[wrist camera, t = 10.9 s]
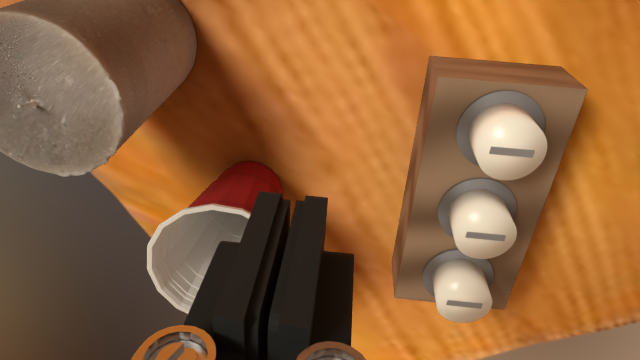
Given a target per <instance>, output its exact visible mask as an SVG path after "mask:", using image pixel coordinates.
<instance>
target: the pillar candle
mask: <svg viewBox="0 0 640 360" xmlns="http://www.w3.org/2000/svg"><path fill="white" fill-rule="evenodd" d="M196 53H197V39H196V32H195V28H194V26H193V23H192V20H191V18H190V15H189V14H188V12H187V10H186V9H185V7H184V6H183V4H182V3H181V2H180V1H179V0H24V1H21V2H17V3H15V4H12V5H9V6H6V7H3V8H0V152H2V153H4V154H5V155H7V156H9V157H11V158H12V159H14V160H16V161H18V162H20V163H22V164H24V165H26V166H29V167H31V168H34V169H36V170H40V171H45V172H48V173H53V174H57V175H60V176H64V177H67V176H70V175H75V176H76V175H77V176H78V175H84V174H86V172H92V170H93V169H95V168H97V167H99V166H101V165H102V164H105V163H107V162H108V159H109V158H110V157H111V156H113V155H114V154H115V153H116V151H117V150H118V149H119V148H120V147H121V145H122V144H123V143H124V142H125V141H126V140H127V139H128V138H129V137H130V136H131V135H132V134H133V133H134V132H135V131H136V130H137V129H138V128H139V127H140V126H141V125H142V124H143V123H144V122H145V121H146V120H147V119H148V118H149V117H150V116H151V115H152V114H153V113H154V112H155V111H156V110H157V108H158V107H159V106H161V105H162V104H163V103H164V101H165V100H166V99H167V98H168V97H169V96H170V95H171V94H172V93H173V92H174V91H175V90H176V89H177V87H178V86H179V85H181V84H182V83H183V82H184V81H185V79H186V78H187V76H188V75H189V73H190V71H191V69H192V68H193V65H194V62H195V58H196Z"/></svg>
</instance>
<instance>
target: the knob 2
mask: <svg viewBox="0 0 640 360" xmlns="http://www.w3.org/2000/svg"><path fill="white" fill-rule="evenodd" d="M468 139H469V143H470V146H471V148H472V150H473V153H474V155H475V157H476V160H477V162H478V164H479V166H480V168H481V169H482V171H483V172H484V173H485V174H487V175H488V176H490V177H492V178H494V179H498V180H515V179H519V178H522V177H524V176H526V175H528V174H530V173H531V172H533V171H534V170H535V169H537V167H538V166H539V165H540V164H541V163H542V161H543V160H544V158H545V155H546V152H547V139H546V137H545V135H544V133H543V131H542V130H541V129H540V127H539V126H538V125H537V124H536V122H535V121H534V120H533V118H532V117H531V116H530V114H529V113H528V112H527V111H526V110H525V109H524V108H522V107H521V106H518V105H516V104H512V103H499V104H495V105H492V106H489V107H487V108H486V109H484V110H482V111H481V112H480V113H479V114H478V115H477V116H476V117H475V118H474V120H473V121H472V123H471V125H470V128H469V132H468Z"/></svg>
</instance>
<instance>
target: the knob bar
mask: <svg viewBox="0 0 640 360" xmlns="http://www.w3.org/2000/svg"><path fill="white" fill-rule="evenodd" d="M587 91H588V89H587V88H586V87H584V86H583V85H582V84H581V83H580V82H579V81H577V80H576V79H575V78H574V77H573V76H571V75H570V74H569V73H568V72H567V71H566V70H564V69H563V68H562V67H558V66H546V65H534V64H522V63H510V62H498V61H486V60H474V59H461V58H449V57H437V56H430V57H429V62H428V68H427V73H426V79H425V84H424V89H423V95H422V100H421V106H420V111H419V117H418V122H417V127H416V133H415V138H414V144H413V149H412V155H411V160H410V165H409V171H408V176H407V182H406V187H405V193H404V198H403V204H402V209H401V214H400V220H399V225H398V231H397V236H396V242H395V247H394V252H393V258H392V272H393V286H394V298H400V299H409V300H419V301H428V302H436V300H435V294H434V288H433V283H432V275H433V273H434V271H435V269H436V268H437V267H438V266H439V265H441V264H442V263H444V262H446V261H449V260H452V259H467V260H471V261H473V262H475V263H477V264H478V265H479V266H480V267H481V268H482V270H483V272H484V275H485V278H486V281H487V285H488V288H489V291H490V294H491V297H492V307H491V308H494V309H505V306H506V304H507V301H508V299H509V296H510V293H511V291H512V288H513V285H514V283H515V280H516V278H517V275H518V272H519V270H520V267H521V264H522V262H523V259H524V256H525V254H526V251H527V249H528V246H529V243H530V241H531V238H532V235H533V233H534V230H535V228H536V225H537V222H538V220H539V217H540V214H541V212H542V209H543V206H544V204H545V201H546V199H547V196H548V193H549V191H550V188H551V185H552V183H553V180H554V177H555V175H556V172H557V170H558V167H559V164H560V162H561V159H562V156H563V154H564V151H565V149H566V146H567V143H568V141H569V138H570V135H571V133H572V130H573V127H574V125H575V122H576V120H577V117H578V114H579V112H580V109H581V106H582V104H583V101H584V98H585V96H586V93H587ZM499 103H512V104H516V105H518V106H521V107H522V108H524V109H525V110H526V111H527V112H528V113H529V114H530V116H531V117H532V118H533V120H534V121H535V122H536V124H537V125H538V126H539V127H540V129H541V130H542V131H543V133H544V135H545V137H546V139H547V152H546V155H545V158H544V160H543V161H542V163H541V164H540V165H539V166H538V167H537V169H535V170H534V171H533V172H531V173H530V174H528V175H526V176H524V177H522V178H519V179H515V180H498V179H494V178H492V177H490V176H488V175H487V174H485V173H484V172H483V171H482V169H481V168H480V166H479V164H478V162H477V160H476V157H475V155H474V153H473V150H472V148H471V146H470V143H469V139H468V132H469V128H470V125H471V123H472V121H473V120H474V118H475V117H476V116H477V115H478V114H479V113H480V112H481V111H482V110H484V109H486V108H487V107H489V106H492V105H495V104H499ZM474 189H487V190H491V191H493V192H495V193H497V194H498V195H500V196H501V197H502V199H503V200H504V202H505V204H506V206H507V208H508V211H509V213H510V215H511V217H512V219H513V222H514V224H515V226H516V229H517V236H516V239H515V242H514V243H513V245H512V246H511V247H510V248H509V249H508V250H507V251H506V252H504V253H503V254H501V255H499V256H496V257H493V258H489V259H476V258H471V257H469V256H466V255H465V254H463V253H462V252H461V251H460V250H459V249H458V248H457V246H456V244H455V240H454V236H453V233H452V229H451V225H450V221H449V216H448V212H449V208H450V206H451V204H452V202H453V201H454V200H455V199H456V198H457V197H458V196H459V195H461V194H463V193H464V192H467V191H470V190H474Z"/></svg>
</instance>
